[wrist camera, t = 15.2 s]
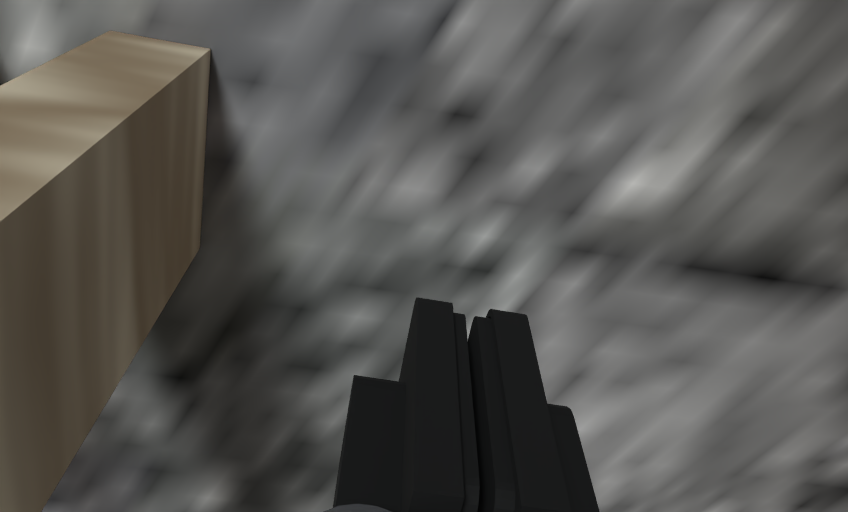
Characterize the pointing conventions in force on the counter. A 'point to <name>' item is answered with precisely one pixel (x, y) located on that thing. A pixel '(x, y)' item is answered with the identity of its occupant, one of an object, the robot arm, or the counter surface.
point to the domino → (89, 236)
